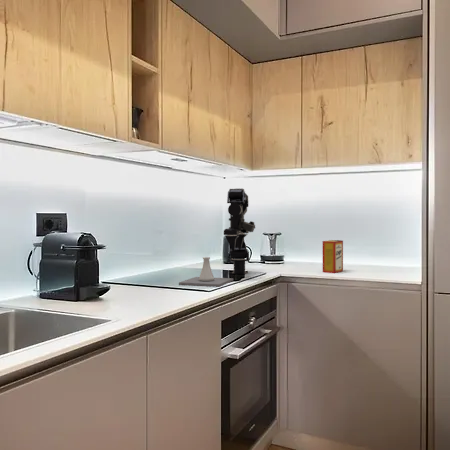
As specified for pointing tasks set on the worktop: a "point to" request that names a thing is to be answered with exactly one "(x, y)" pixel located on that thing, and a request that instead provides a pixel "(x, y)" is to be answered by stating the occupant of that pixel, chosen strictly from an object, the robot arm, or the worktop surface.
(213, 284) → the mat
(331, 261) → the baking soda box
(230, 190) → the robot arm
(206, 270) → the flask
